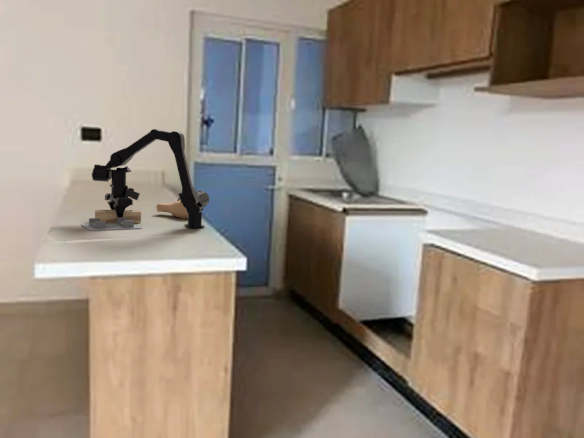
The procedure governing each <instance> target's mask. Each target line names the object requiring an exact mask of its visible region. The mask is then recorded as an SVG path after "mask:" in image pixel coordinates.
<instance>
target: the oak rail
mask: <svg viewBox="0 0 584 438" xmlns="http://www.w3.org/2000/svg"><path fill="white" fill-rule="evenodd" d="M123 217H127V218H128V220H134V224H142V211H141V209H140V210H139V209H125V211H124V214H123ZM94 218H100V221H106V223H117V218H118V217H117V214H116V211H115V210H111V209H94ZM128 220H127V221H128Z"/></svg>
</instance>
